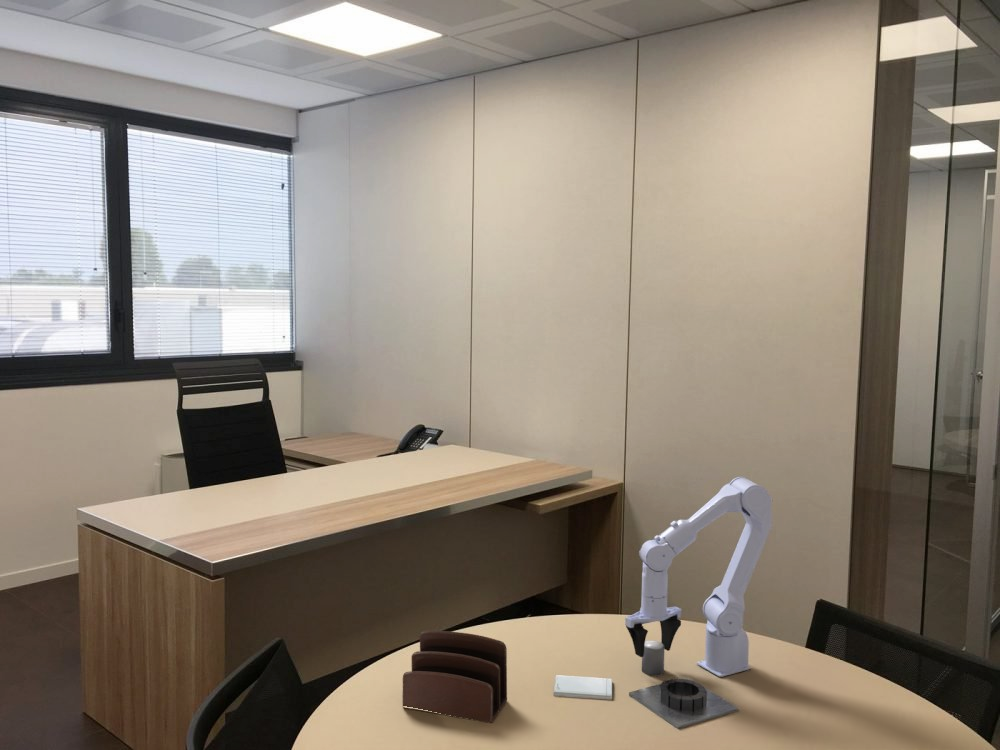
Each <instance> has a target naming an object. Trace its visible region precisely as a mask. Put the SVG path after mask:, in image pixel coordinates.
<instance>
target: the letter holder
mask: <svg viewBox="0 0 1000 750" xmlns="http://www.w3.org/2000/svg"><path fill="white" fill-rule="evenodd" d="M507 652H508V651H507V645H506V644H505V643H504V641H501V640H499V639H495V638H492V637H487V636H484V635H479V634H472V633H466V632H458V631H457V632H456V631H446V630H424V631H421V632H420V634H419V650H418V651H414V652H413V653H412V655H411V670H410V671H406V672H404V673H403V674H402V675H403V676H402V707H403V706H407V707H413V708H418V709H423V710H428V711H432V712H437V713H441V714H446V715H445V716H447V715H451V716H450V717H453V716H456V717H455V718H459V717H462V718H461V719H465V718H468V719H467V720H471V719H473V720H472V721H476V720H478V721H477V722H483V723H488V722H489V724H493V723H494V721H495V720H496V719H497V717H498V716H499V714H500V712H501V711H502V710H503V708H504V707H505V705H506V704H507V702H508V676H507V675H508V674H507V673H508V672H507V671H508V670H507V669H508V667H507V665H508V662H507V660H508V657H507V655H508V653H507ZM441 714H440V715H441Z"/></svg>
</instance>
